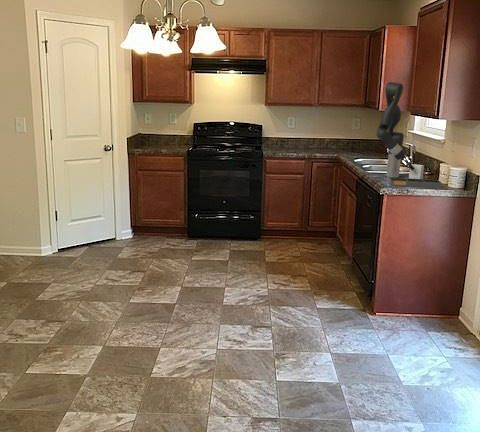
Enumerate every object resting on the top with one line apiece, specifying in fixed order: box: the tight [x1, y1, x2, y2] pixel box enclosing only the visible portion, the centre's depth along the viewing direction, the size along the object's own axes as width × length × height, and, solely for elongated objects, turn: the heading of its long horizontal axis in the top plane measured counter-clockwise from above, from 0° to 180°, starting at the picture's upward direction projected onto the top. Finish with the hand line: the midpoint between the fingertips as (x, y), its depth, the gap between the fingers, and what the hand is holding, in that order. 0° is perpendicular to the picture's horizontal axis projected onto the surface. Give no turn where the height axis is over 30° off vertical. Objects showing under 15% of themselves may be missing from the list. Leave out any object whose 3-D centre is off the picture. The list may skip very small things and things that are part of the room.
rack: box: [387, 177, 443, 190], centre depth 354 cm, size 12×34×4 cm, turn 83°
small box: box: [408, 163, 425, 179], centre depth 364 cm, size 8×6×13 cm
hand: (412, 168), depth 363 cm, fingers open, 8 cm apart
